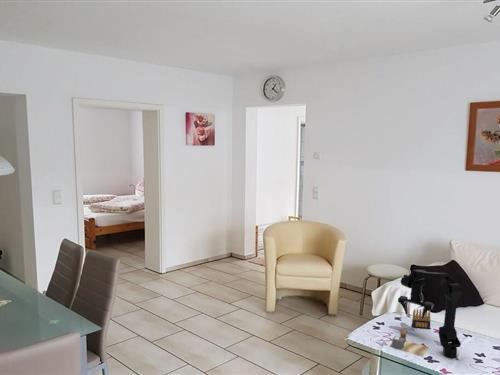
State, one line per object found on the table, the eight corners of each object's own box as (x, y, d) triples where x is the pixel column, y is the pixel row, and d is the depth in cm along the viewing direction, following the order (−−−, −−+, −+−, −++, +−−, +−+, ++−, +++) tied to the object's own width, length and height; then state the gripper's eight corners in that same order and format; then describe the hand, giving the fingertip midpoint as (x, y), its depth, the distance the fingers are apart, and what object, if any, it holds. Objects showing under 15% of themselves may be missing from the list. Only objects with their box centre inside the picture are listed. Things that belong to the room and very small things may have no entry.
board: (429, 349, 226) (430, 347, 226) (422, 359, 215) (423, 357, 215) (396, 339, 237) (397, 337, 237) (388, 348, 226) (388, 346, 226)
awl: (406, 342, 232) (407, 330, 231) (401, 342, 231) (402, 330, 230) (403, 340, 235) (404, 328, 234) (398, 340, 234) (399, 328, 233)
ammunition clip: (429, 328, 255) (430, 309, 254) (430, 329, 253) (431, 310, 252) (411, 326, 256) (412, 308, 255) (412, 328, 255) (413, 309, 254)
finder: (403, 346, 227) (404, 338, 226) (401, 349, 223) (401, 341, 222) (394, 343, 230) (395, 335, 229) (391, 346, 226) (392, 338, 225)
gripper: (436, 291, 241) (434, 316, 242) (404, 284, 252) (402, 308, 254) (431, 296, 232) (430, 322, 233) (398, 288, 243) (396, 314, 245)
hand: (414, 316), depth 242 cm, fingers open, 9 cm apart
